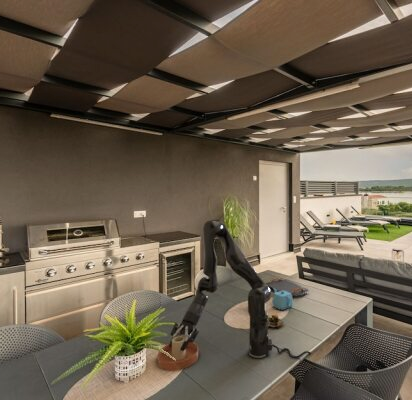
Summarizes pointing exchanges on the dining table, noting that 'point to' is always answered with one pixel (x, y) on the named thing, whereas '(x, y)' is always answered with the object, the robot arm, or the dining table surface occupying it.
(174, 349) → the jar
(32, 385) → the dining table surface
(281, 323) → the burger
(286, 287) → the serving tray
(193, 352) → the pan
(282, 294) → the teapot
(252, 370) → the dining table surface
